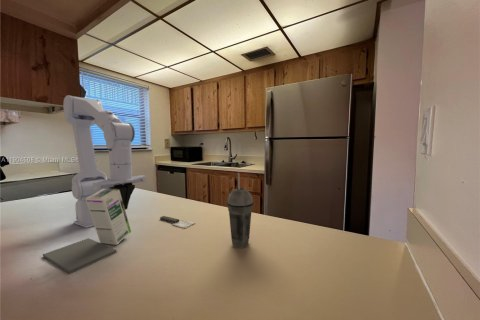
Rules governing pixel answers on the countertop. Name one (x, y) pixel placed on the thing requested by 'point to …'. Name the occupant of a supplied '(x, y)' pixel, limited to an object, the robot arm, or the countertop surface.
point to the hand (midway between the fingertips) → (123, 209)
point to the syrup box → (109, 216)
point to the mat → (79, 254)
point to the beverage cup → (240, 215)
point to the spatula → (178, 222)
